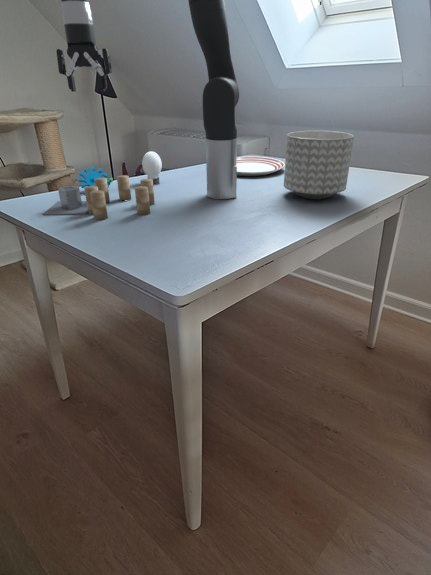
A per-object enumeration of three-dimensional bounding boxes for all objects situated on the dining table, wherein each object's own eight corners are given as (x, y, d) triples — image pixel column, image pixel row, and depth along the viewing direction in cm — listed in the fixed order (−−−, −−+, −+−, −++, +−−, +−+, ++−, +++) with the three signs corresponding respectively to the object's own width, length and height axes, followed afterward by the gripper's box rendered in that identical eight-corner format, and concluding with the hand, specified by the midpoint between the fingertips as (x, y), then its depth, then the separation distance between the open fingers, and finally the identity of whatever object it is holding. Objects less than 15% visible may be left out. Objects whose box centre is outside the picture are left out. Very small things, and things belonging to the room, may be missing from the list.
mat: (97, 202, 120) (97, 201, 119) (85, 214, 109) (85, 213, 109) (58, 202, 120) (57, 201, 120) (42, 215, 109) (42, 213, 109)
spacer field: (157, 197, 124) (155, 174, 120) (147, 219, 105) (144, 193, 101) (102, 198, 124) (98, 175, 121) (81, 220, 105) (76, 194, 102)
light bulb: (161, 180, 144) (158, 149, 138) (164, 184, 138) (162, 152, 133) (142, 182, 142) (139, 150, 136) (145, 186, 136) (142, 153, 131)
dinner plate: (289, 179, 145) (289, 169, 143) (215, 179, 146) (215, 170, 144) (280, 164, 169) (280, 156, 167) (216, 164, 170) (216, 156, 168)
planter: (355, 195, 124) (365, 134, 115) (325, 208, 112) (333, 141, 103) (303, 185, 136) (308, 129, 127) (270, 196, 123) (274, 135, 115)
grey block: (83, 204, 117) (80, 185, 114) (77, 209, 112) (74, 190, 109) (67, 204, 117) (63, 185, 114) (60, 210, 112) (56, 190, 109)
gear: (79, 191, 125) (77, 164, 128) (78, 200, 131) (76, 174, 133) (114, 192, 129) (111, 166, 132) (112, 201, 135) (110, 176, 138)
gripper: (108, 24, 108) (116, 90, 116) (57, 25, 108) (68, 91, 116) (101, 21, 101) (110, 91, 109) (46, 22, 101) (59, 92, 109)
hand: (88, 91), depth 112 cm, fingers open, 8 cm apart
